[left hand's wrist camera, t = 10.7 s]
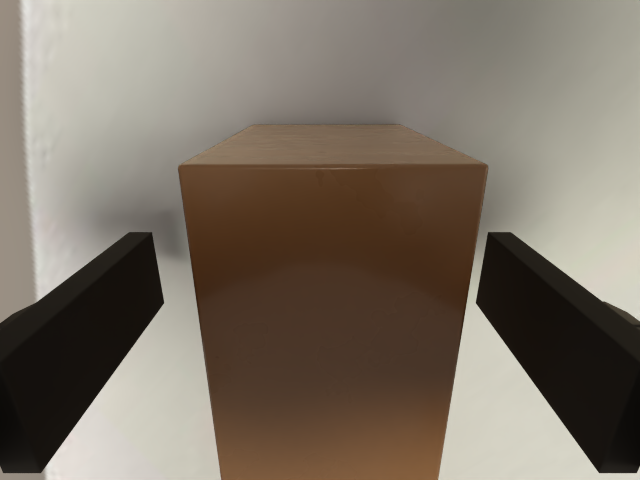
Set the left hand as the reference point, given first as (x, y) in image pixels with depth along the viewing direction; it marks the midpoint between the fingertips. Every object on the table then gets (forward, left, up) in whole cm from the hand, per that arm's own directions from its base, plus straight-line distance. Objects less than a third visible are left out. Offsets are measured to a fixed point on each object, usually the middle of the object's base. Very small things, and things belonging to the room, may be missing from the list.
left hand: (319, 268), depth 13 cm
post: (+36, +8, -3) cm, 37 cm away
